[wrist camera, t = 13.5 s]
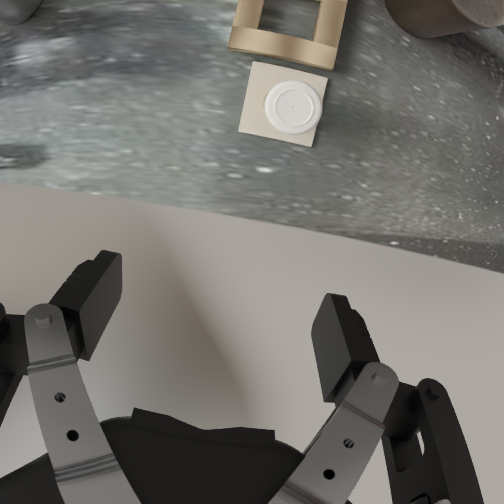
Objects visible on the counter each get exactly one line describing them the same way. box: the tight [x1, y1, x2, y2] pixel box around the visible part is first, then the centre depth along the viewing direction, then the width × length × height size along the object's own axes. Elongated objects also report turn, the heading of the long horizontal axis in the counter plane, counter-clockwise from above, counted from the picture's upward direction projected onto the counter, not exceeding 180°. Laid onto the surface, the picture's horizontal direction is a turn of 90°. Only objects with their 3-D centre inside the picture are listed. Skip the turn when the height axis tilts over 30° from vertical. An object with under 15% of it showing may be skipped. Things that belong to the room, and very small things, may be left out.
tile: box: [238, 61, 328, 147], centre depth 34 cm, size 9×9×1 cm
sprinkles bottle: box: [264, 80, 322, 135], centre depth 28 cm, size 5×5×14 cm
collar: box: [228, 0, 348, 71], centre depth 28 cm, size 12×12×2 cm
